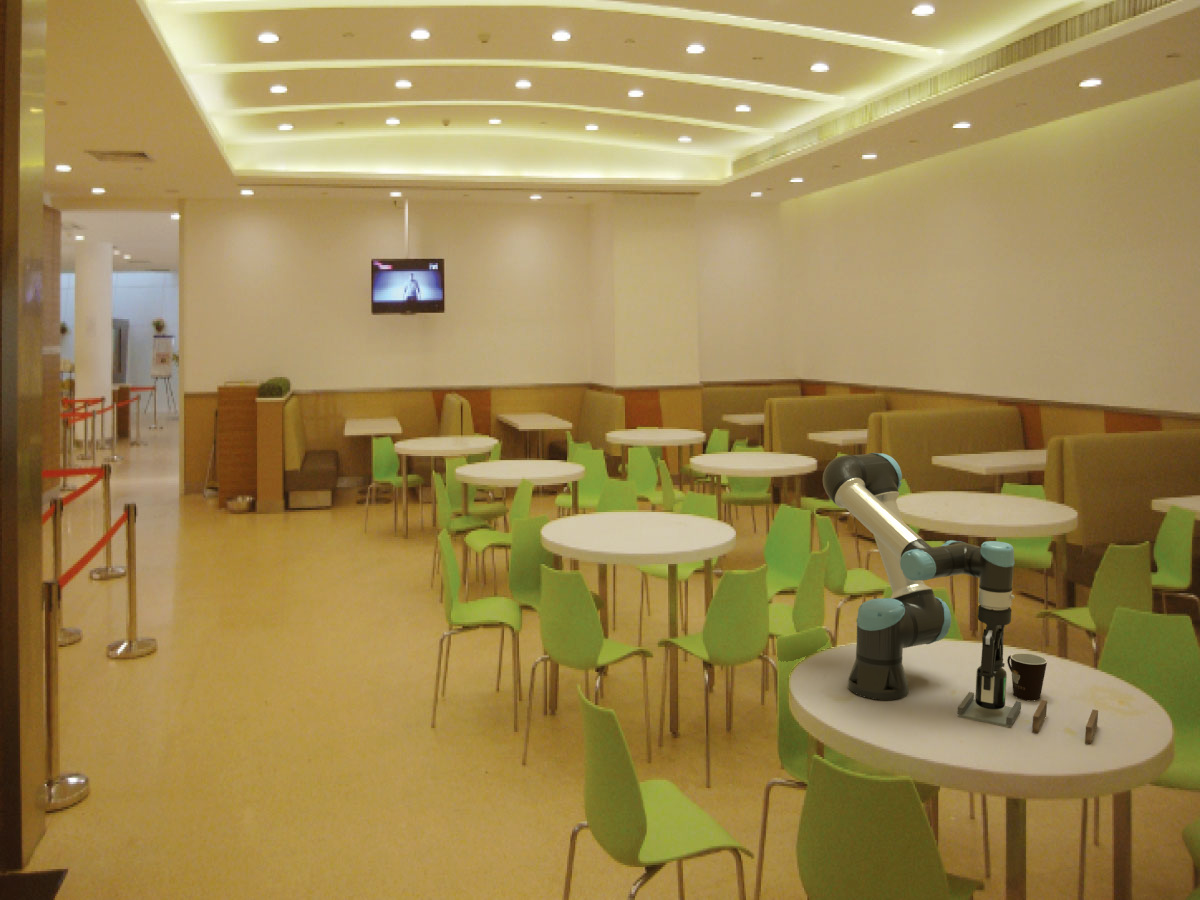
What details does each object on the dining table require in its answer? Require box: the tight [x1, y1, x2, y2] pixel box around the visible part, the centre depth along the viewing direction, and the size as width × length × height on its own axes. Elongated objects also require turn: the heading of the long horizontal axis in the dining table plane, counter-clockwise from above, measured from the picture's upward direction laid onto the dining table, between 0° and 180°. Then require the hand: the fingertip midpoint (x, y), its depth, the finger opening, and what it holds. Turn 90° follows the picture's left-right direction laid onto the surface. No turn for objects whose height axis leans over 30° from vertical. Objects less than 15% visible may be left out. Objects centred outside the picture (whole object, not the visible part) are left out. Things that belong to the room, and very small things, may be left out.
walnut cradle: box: [1031, 699, 1099, 745], centre depth 232 cm, size 12×12×4 cm
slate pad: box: [957, 691, 1022, 729], centre depth 241 cm, size 12×12×2 cm
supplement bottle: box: [974, 655, 1008, 709], centre depth 240 cm, size 7×7×12 cm
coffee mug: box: [1006, 652, 1048, 702], centre depth 254 cm, size 12×9×10 cm
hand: (990, 696), depth 241 cm, fingers closed on supplement bottle, 7 cm apart
